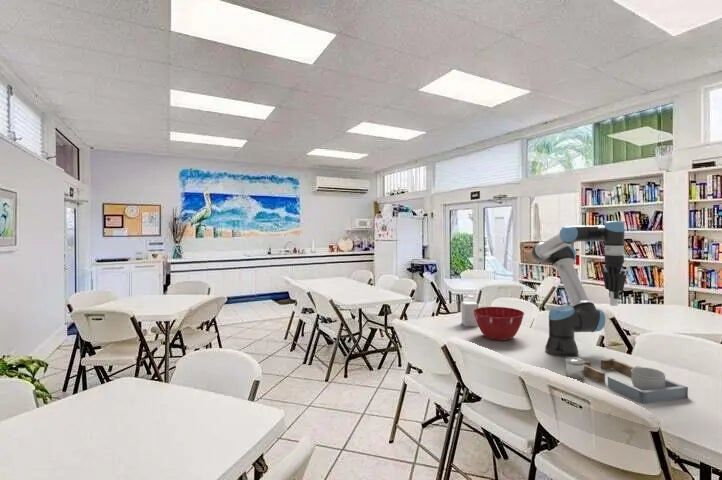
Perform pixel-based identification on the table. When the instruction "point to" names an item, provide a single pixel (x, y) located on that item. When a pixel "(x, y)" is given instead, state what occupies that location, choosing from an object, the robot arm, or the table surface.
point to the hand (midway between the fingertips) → (613, 305)
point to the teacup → (647, 378)
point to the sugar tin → (575, 368)
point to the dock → (650, 391)
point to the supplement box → (469, 313)
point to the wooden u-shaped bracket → (606, 364)
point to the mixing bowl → (498, 322)
